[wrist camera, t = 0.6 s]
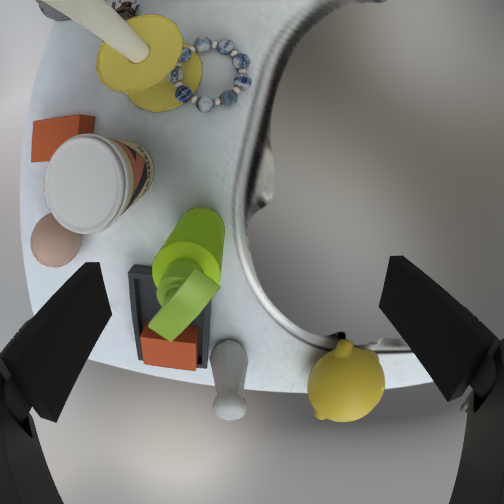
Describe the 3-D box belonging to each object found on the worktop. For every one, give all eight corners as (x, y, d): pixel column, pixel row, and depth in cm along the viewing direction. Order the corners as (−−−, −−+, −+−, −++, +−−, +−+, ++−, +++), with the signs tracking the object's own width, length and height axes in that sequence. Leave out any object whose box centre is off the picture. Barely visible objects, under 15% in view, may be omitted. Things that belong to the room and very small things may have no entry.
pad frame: (133, 264, 36) (127, 272, 34) (212, 272, 37) (211, 281, 35) (142, 349, 42) (138, 360, 39) (207, 357, 43) (207, 368, 40)
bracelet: (184, 31, 24) (185, 25, 22) (260, 54, 28) (265, 49, 26) (156, 101, 27) (154, 98, 25) (235, 122, 30) (239, 121, 28)
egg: (57, 198, 32) (23, 213, 24) (95, 218, 33) (64, 238, 26) (48, 241, 34) (16, 262, 26) (83, 261, 35) (55, 288, 28)
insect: (108, -3, 18) (105, 7, 20) (100, 53, 22) (97, 60, 24) (147, -3, 21) (140, 6, 23) (141, 51, 24) (135, 58, 27)
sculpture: (373, 414, 41) (354, 451, 31) (316, 393, 49) (283, 421, 38) (402, 342, 41) (393, 365, 30) (337, 324, 48) (308, 338, 37)
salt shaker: (209, 360, 43) (205, 424, 31) (211, 334, 41) (206, 399, 29) (245, 363, 44) (250, 426, 32) (249, 337, 42) (256, 402, 30)
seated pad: (146, 320, 39) (139, 336, 35) (198, 326, 40) (196, 343, 36) (149, 347, 41) (143, 364, 37) (198, 353, 42) (196, 371, 38)
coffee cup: (165, 201, 33) (133, 230, 22) (101, 212, 33) (53, 242, 22) (156, 128, 30) (118, 121, 19) (90, 144, 30) (35, 149, 18)
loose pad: (49, 121, 28) (33, 121, 24) (94, 116, 28) (80, 114, 25) (47, 159, 29) (31, 162, 26) (91, 157, 30) (76, 159, 27)
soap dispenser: (239, 220, 35) (247, 309, 16) (205, 260, 37) (183, 370, 18) (203, 191, 33) (165, 249, 15) (170, 232, 35) (111, 324, 16)
